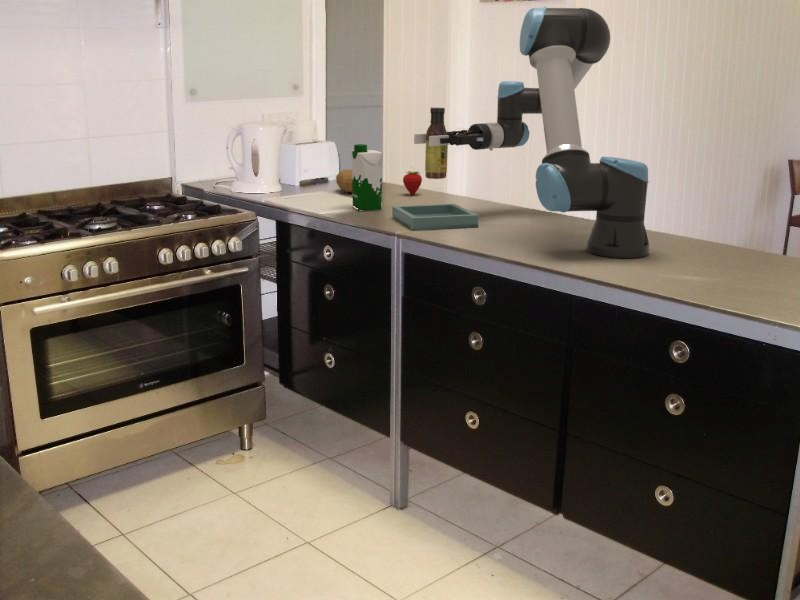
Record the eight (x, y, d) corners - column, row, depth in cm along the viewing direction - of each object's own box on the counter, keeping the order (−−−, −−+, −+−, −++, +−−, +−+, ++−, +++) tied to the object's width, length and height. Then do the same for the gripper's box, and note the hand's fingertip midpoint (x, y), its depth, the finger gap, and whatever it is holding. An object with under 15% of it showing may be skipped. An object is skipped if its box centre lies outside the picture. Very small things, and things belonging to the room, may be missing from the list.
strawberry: (398, 195, 299) (399, 166, 297) (412, 193, 305) (412, 164, 302) (412, 197, 296) (412, 168, 293) (425, 195, 302) (426, 166, 299)
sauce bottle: (444, 180, 246) (446, 108, 240) (423, 179, 247) (424, 107, 241) (448, 176, 252) (450, 107, 246) (427, 175, 253) (428, 106, 248)
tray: (478, 227, 247) (478, 215, 246) (412, 230, 241) (412, 218, 240) (453, 215, 265) (454, 203, 264) (392, 218, 259) (392, 206, 258)
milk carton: (349, 207, 276) (348, 143, 271) (375, 205, 280) (376, 143, 274) (358, 211, 268) (357, 146, 263) (385, 210, 272) (385, 145, 266)
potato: (353, 188, 313) (353, 166, 311) (373, 194, 302) (373, 171, 300) (329, 190, 308) (329, 168, 306) (349, 196, 297) (349, 173, 295)
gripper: (505, 152, 250) (443, 157, 237) (463, 146, 265) (402, 150, 252) (507, 125, 248) (443, 129, 235) (464, 121, 263) (402, 124, 250)
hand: (422, 140), depth 244 cm, fingers closed on sauce bottle, 6 cm apart
